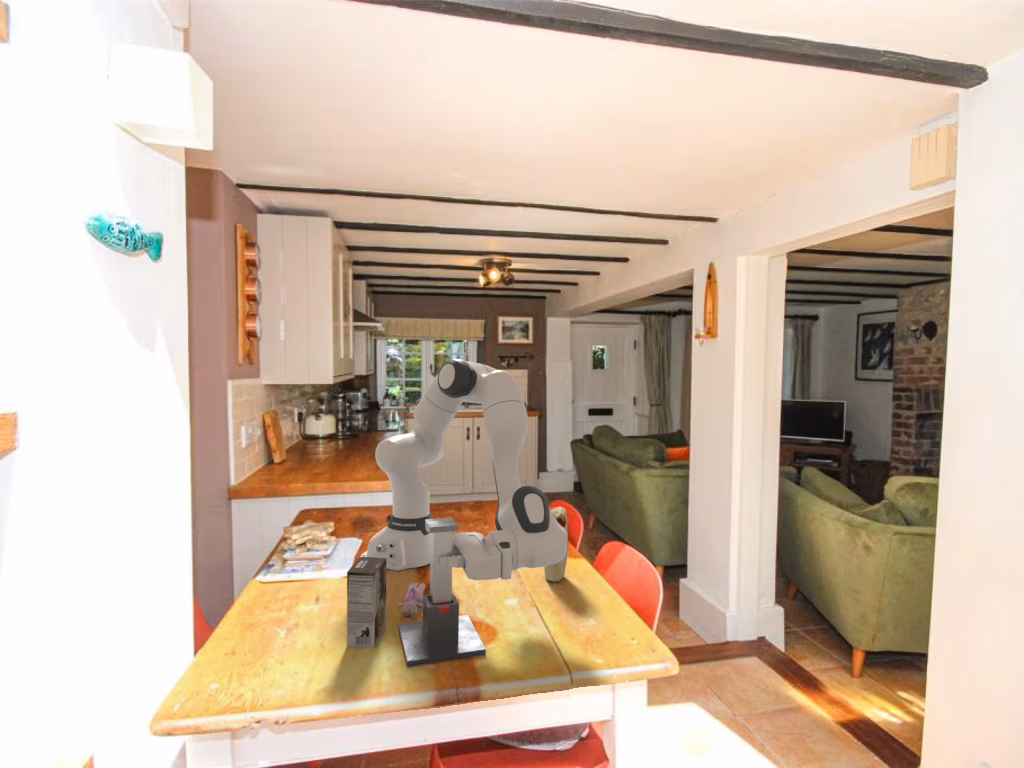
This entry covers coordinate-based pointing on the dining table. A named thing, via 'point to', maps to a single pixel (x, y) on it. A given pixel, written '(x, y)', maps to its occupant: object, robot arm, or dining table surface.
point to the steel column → (438, 547)
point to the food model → (558, 569)
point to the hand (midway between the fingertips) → (436, 557)
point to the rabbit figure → (412, 600)
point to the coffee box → (366, 602)
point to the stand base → (439, 635)
